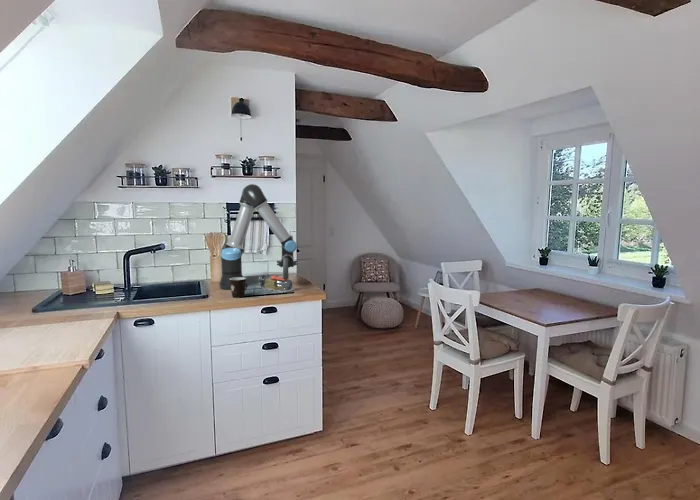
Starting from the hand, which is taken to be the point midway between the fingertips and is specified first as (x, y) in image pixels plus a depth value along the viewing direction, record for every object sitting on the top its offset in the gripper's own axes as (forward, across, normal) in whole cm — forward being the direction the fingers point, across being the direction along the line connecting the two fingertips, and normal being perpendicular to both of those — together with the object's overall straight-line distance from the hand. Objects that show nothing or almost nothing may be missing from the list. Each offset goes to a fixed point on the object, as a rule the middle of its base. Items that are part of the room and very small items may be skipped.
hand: (286, 266), depth 238 cm
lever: (-2, +4, -8) cm, 9 cm away
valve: (-6, +7, -14) cm, 17 cm away
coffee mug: (+14, +26, -14) cm, 32 cm away
